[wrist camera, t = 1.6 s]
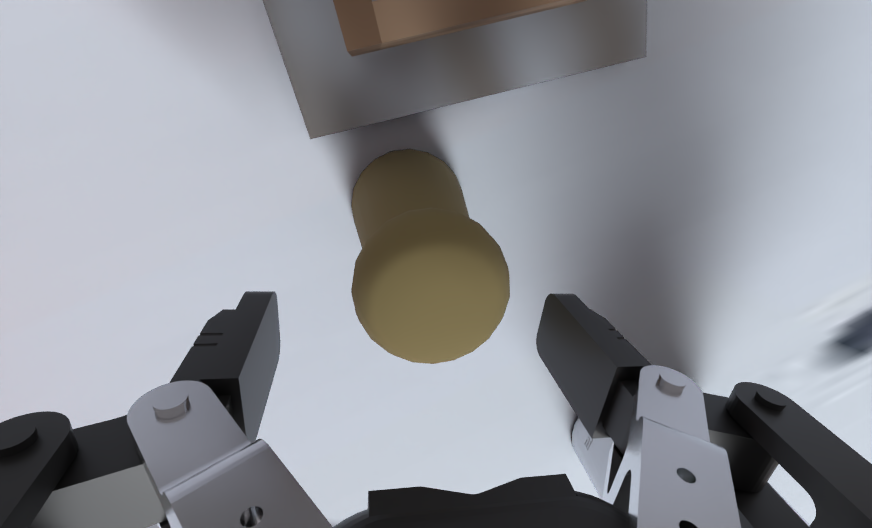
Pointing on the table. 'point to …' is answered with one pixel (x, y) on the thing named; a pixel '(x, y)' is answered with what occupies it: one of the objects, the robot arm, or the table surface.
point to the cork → (423, 261)
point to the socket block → (440, 51)
